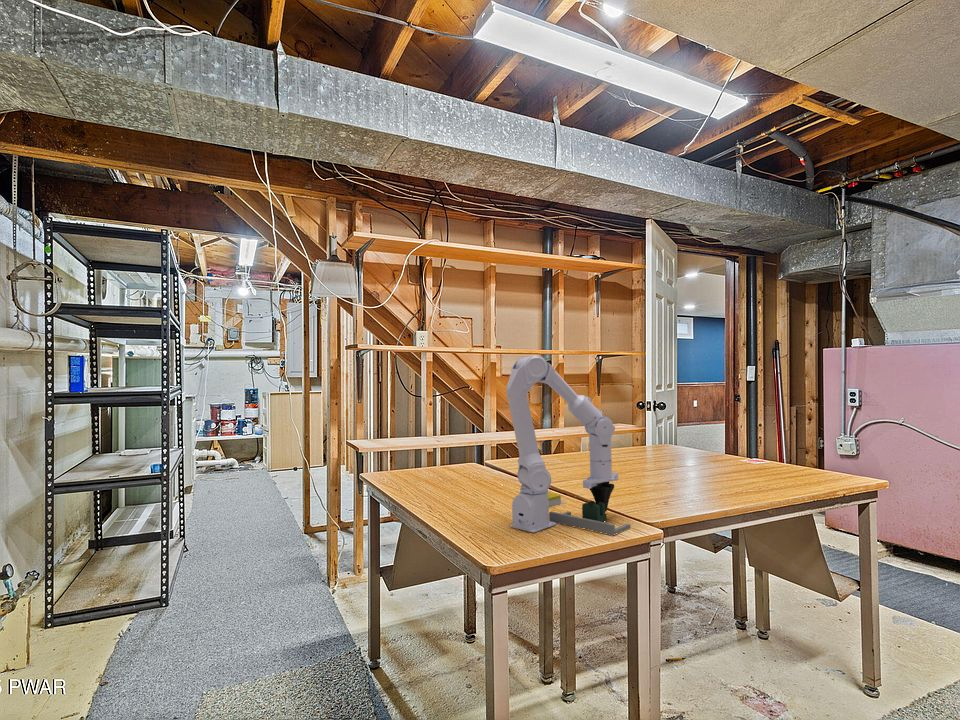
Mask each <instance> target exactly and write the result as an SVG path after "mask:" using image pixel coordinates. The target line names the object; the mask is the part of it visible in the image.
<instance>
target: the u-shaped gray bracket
mask: <svg viewBox="0 0 960 720" xmlns="http://www.w3.org/2000/svg"><path fill="white" fill-rule="evenodd" d="M549 521H550V522H555V523H556V524H558V523H560V524H559V525H562V524H565V525H564V526H567V525H570V526H569V527H571V526H575V527H574V528H576V527H580V528H585V529H589V530H593V531H597V532H602V533H607V534H610V535H614V534H616V533H619V532H621V531H623V532H625V531H627V529H628V530H629V529H631V523H625V524H622V525H620V526H618V527H616V525H615V524H613V523H608V522H600V521H595V520H590V519H586V518H582V517H580V516H575V515H572V512H571V511H565V512H562V513H561V512H556V511H549ZM580 528H579V529H580ZM589 530H588V531H589ZM624 530H625V531H624ZM593 531H592V532H593ZM597 532H596V533H597ZM602 533H601V534H602ZM621 533H622V532H621ZM619 534H620V533H619ZM610 535H609V536H610ZM616 535H617V534H616ZM614 536H615V535H614Z"/></svg>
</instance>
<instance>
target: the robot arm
mask: <svg viewBox="0 0 960 720" xmlns="http://www.w3.org/2000/svg"><path fill="white" fill-rule="evenodd" d="M510 371H511V372H510V374H509V379H508V382H507V385H506V388H505V394H506V398H507V402H508V406H509V408H508V409H509V411H510V413H509V414H510V417H511V421H512V425H513V426H512V427H513V430H514V435H515V436H514V437H515V441H516V446H517V450H518V454H519V457H518V460H517V463H518V470H517V479H518V483H520V484H521V486H520V488H519V490H520V491H519V494H518V495H515V497H514V498H513V500H512V503H511V507H512V508H511V509H512V510H511V511H512V512H511V513H512V514H511V515H512V516H511V517H512V524H510V525H509V527H511V528H514V529H517V530H521V531H525V532H529V533H533V534H534V533H537V532H540V531H543V530H545V529H548V528H551V527H554V526H556V525H557V523H555V522H550V521H549V512H550V511H549V509H550V507H548V492H549V488H550V486H551V484H552V475H551V474H550V472H549V471H548V469H547V468H546V466H545V462H544V459H543V458H542V455H541V454H540V451H539V444H538V441H537V436H536V432H535V428H534V422H533V417H532V412H531V408H530V403H529V397H528V393H529V392H530V391H531V389H532V387H533V386H534V385H535V384H536V383H540V384H541V383H542V384H547V385H548V386H549V387H550V388H551V389H552V390H553V391H555V393H556V394H557V395H559V396H560V398H562V399H563V400H564V401H565V402H566V403H567V405H568V407H567V409H568V411H569V412H570V413H571V414H572V415H573V416H574V417H575V418H576V419H577V420H578V422H580V423H581V424H582V425H583V426H584V430H585V432H586V433H587V434H588V435H589V437H588V438H589V439H588V441H589V442H588V443H589V470H590V471H589V476H588V477H587V478H585V479H584V480H582V487H583V489H589V490H590V492H591V495H592V497H593V499H594V502H595V504H597V505H598V503H599V502H603V503H604V504H605V513H606V512H607V510H608V506H609V501H610V497H611V495H612V493H613V491H614V489H615V484H614V483H611V482H615V481H619V473H618V472H613V471H612V470H613V467H612V466H613V465H612V462H613V461H612V436H614V433H615V431H616V426H614V423H613V421H612V419H611V418H609V417H607V416H604V415H603V411H602V410H601V409H598V408H597V406H595V405H594V404H593V403H592V398H590V397H589V396H586V395H582V394H580V395H578V394H577V393H576V392H575V390H573V388H572V387H571V386H570V385H569V384H568V383H567V382H566V381H565V380H564V378H563V377H562V376H561V375H560V374H559V372H558V371H557V370H556V369H555V367H554V366H553V365H552V364H550V363H549V362H547V360H546V359H545V358H544V357H543V356H541V355H537V354H536V355H535V354H534V355H531V356H521V357H520V358H518V359H517V360H516V361H515V363H514V364H513V365H512V366H511V367H510Z"/></svg>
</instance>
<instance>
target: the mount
mask: <svg viewBox="0 0 960 720" xmlns="http://www.w3.org/2000/svg"><path fill="white" fill-rule="evenodd" d="M581 507H582V508H581V511H582V517H581V518H586V519H590V520H595V521H600V522H604V521H606V522H607V519H608V517H607V513H606V512H605V504H604V503H603V502H599V503H598V505H597V504H596V503H595V500H590V501H588V502H584V503H582V505H581Z"/></svg>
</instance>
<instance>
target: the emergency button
mask: <svg viewBox="0 0 960 720" xmlns="http://www.w3.org/2000/svg"><path fill="white" fill-rule="evenodd" d="M564 503H565V504H566V503H567V502H566V501H564V500H562V499H561V494H559V493H558V494H557V493H553V492H549V491H548V507H549V508H553V507H557V506H560V504H561V505H564ZM556 505H557V506H556ZM552 506H553V507H552Z"/></svg>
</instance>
